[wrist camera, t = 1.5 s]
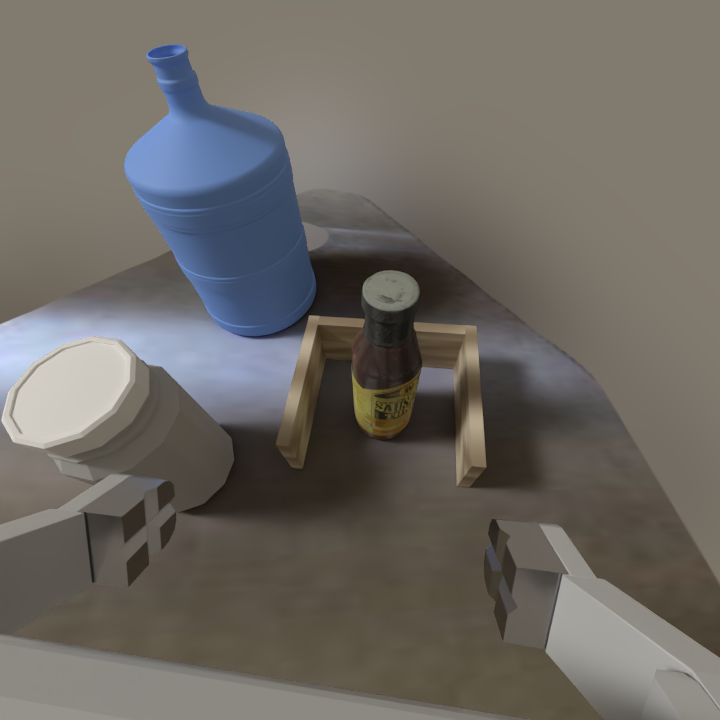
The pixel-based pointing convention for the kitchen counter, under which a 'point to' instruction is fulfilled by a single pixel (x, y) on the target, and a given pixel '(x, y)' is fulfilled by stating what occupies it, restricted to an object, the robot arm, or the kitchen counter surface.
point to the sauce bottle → (386, 355)
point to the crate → (437, 350)
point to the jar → (117, 420)
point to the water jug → (224, 204)
